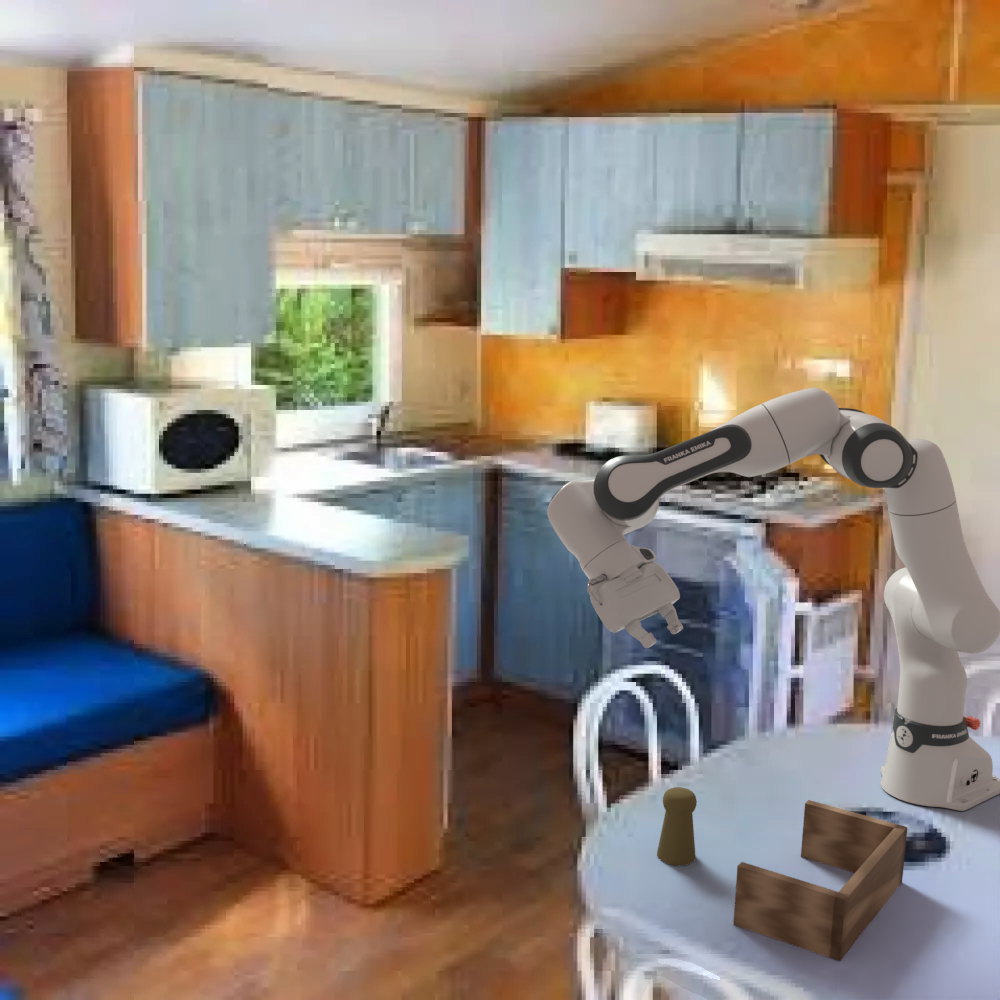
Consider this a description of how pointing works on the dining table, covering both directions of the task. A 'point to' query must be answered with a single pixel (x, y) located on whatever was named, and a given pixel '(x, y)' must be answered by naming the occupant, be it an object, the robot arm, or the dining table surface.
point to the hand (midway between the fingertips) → (665, 638)
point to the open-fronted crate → (814, 909)
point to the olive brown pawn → (678, 827)
